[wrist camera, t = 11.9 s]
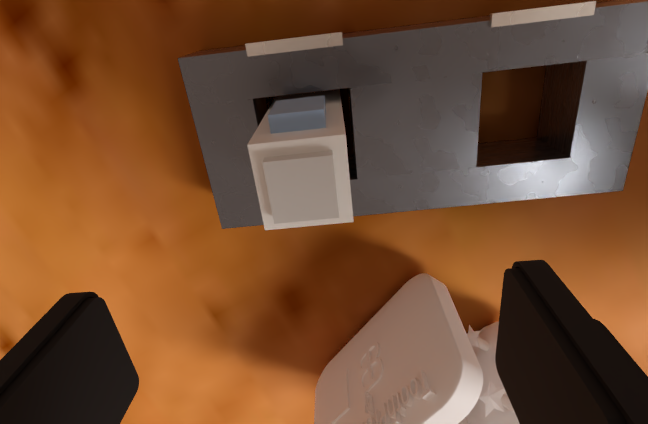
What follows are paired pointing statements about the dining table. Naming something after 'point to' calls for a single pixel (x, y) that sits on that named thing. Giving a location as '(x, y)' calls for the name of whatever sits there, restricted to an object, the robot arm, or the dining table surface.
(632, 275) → the dining table surface
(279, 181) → the plug
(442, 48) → the jack panel
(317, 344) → the dining table surface
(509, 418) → the cable organizer
